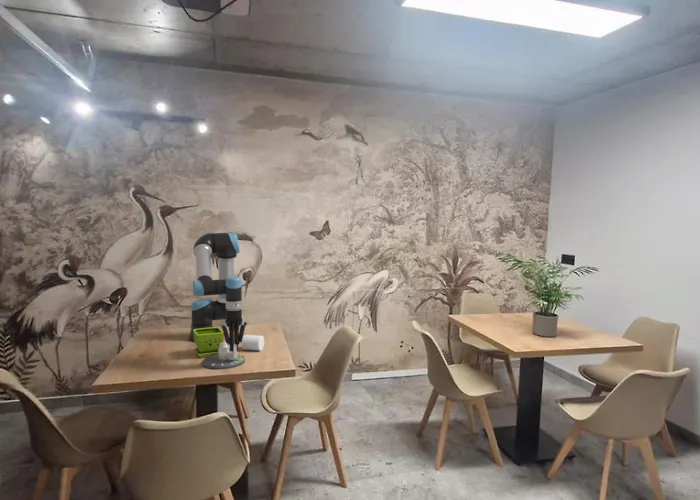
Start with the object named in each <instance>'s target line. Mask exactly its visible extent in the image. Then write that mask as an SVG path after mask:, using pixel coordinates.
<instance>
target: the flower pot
mask: <svg viewBox="0 0 700 500" xmlns="http://www.w3.org/2000/svg"><path fill="white" fill-rule="evenodd" d="M198 334H199V335H198ZM193 335H194V340H195V342H194V343H195V346H196V348H195V352H196V353H197V355H198V358H203V359H204V358H207V357H209V356H213V355H217V354H219V352H218V347H220V343H222V342H224V340H225V337H224V333H223V329H222V328H221V327H219V326H213V327H211V328H200V329H193Z"/></svg>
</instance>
